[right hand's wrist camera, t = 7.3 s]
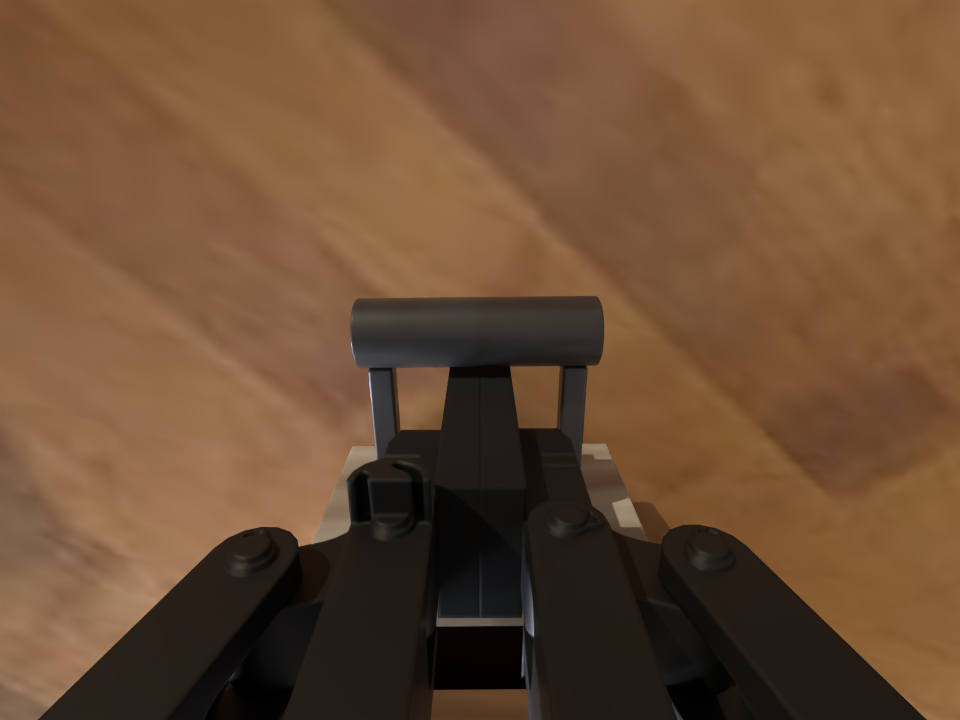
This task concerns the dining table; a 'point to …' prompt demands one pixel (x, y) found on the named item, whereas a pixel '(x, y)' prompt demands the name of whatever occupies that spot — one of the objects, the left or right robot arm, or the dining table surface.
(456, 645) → the drawer
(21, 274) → the dining table surface
